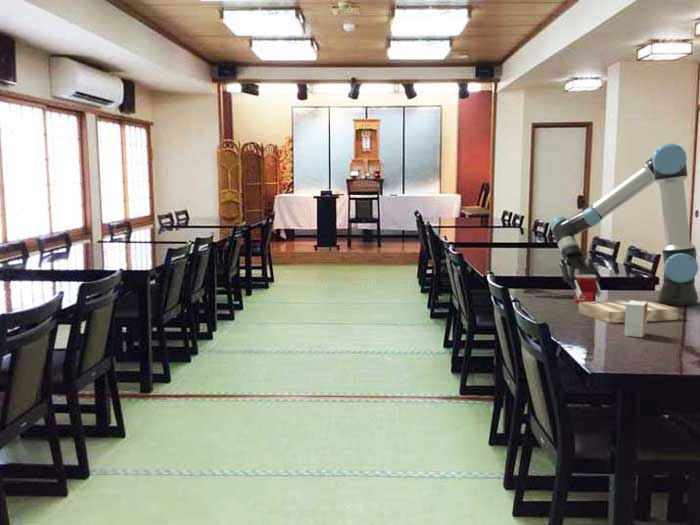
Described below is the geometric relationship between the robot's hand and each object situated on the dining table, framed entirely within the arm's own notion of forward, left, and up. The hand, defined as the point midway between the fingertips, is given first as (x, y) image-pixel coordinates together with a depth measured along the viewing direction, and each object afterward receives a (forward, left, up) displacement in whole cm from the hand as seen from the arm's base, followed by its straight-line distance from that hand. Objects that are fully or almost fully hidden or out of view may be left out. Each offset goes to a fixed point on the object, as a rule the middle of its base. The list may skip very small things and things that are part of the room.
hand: (589, 295), depth 265 cm
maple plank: (-6, +15, -6) cm, 17 cm away
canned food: (0, -3, -4) cm, 5 cm away
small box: (+10, +43, -6) cm, 44 cm away
